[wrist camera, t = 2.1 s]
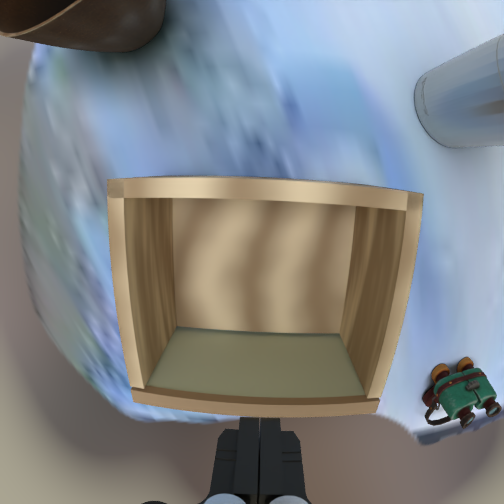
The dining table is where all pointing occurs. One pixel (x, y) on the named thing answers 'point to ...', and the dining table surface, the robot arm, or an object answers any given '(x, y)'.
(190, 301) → the crate
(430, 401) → the binoculars
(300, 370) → the panel
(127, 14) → the plant pot
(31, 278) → the dining table surface
